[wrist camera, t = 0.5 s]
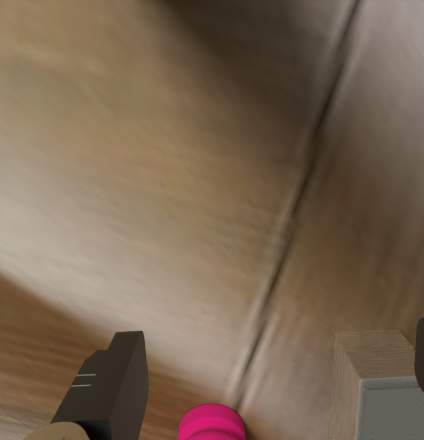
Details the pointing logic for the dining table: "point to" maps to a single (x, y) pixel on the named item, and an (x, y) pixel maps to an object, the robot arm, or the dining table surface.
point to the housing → (375, 388)
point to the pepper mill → (211, 424)
